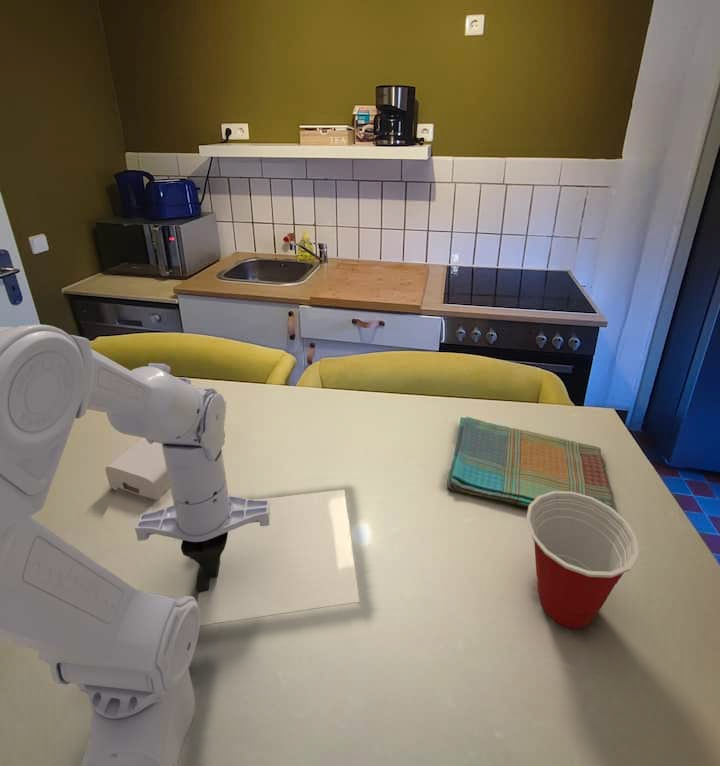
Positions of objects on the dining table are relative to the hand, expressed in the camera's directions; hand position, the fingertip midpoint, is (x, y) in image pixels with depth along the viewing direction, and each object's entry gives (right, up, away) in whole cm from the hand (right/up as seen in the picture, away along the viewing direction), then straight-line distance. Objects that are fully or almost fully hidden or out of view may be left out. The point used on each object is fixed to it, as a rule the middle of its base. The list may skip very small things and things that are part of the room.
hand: (214, 570), depth 52 cm
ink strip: (-1, -1, 0) cm, 1 cm away
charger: (-14, +5, +19) cm, 24 cm away
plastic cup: (+42, -2, -2) cm, 42 cm away
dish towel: (+45, +5, +17) cm, 48 cm away
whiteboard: (+7, 0, +4) cm, 8 cm away
